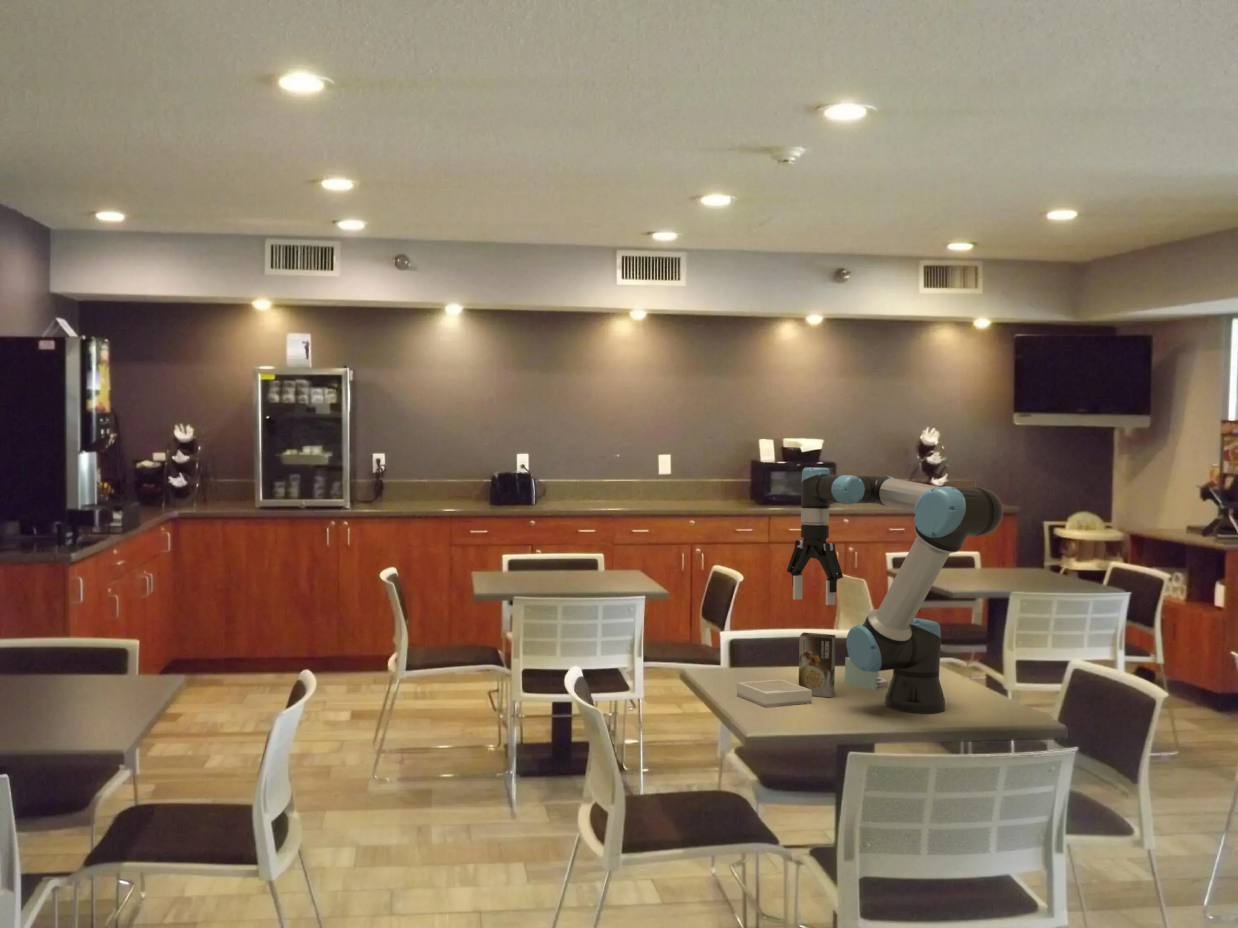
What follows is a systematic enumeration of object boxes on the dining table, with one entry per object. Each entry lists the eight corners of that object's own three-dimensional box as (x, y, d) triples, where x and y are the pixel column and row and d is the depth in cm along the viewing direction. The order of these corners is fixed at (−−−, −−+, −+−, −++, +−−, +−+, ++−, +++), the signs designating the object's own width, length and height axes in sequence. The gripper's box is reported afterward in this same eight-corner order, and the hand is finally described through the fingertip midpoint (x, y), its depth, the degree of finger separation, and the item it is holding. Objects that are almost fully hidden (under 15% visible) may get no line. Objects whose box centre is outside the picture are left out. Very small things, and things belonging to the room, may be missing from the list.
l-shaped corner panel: (873, 692, 313) (874, 665, 313) (844, 683, 324) (845, 657, 323) (905, 688, 319) (906, 661, 319) (876, 680, 330) (876, 654, 329)
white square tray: (811, 703, 295) (811, 689, 294) (765, 707, 288) (766, 693, 288) (781, 691, 307) (781, 679, 307) (736, 695, 301) (737, 682, 301)
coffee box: (835, 693, 308) (837, 634, 307) (831, 698, 302) (833, 638, 301) (801, 689, 311) (803, 631, 310) (797, 694, 305) (799, 635, 304)
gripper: (856, 526, 300) (855, 606, 300) (796, 521, 321) (795, 596, 321) (835, 526, 296) (834, 607, 296) (775, 521, 318) (774, 597, 318)
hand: (813, 601), depth 309 cm, fingers open, 13 cm apart
